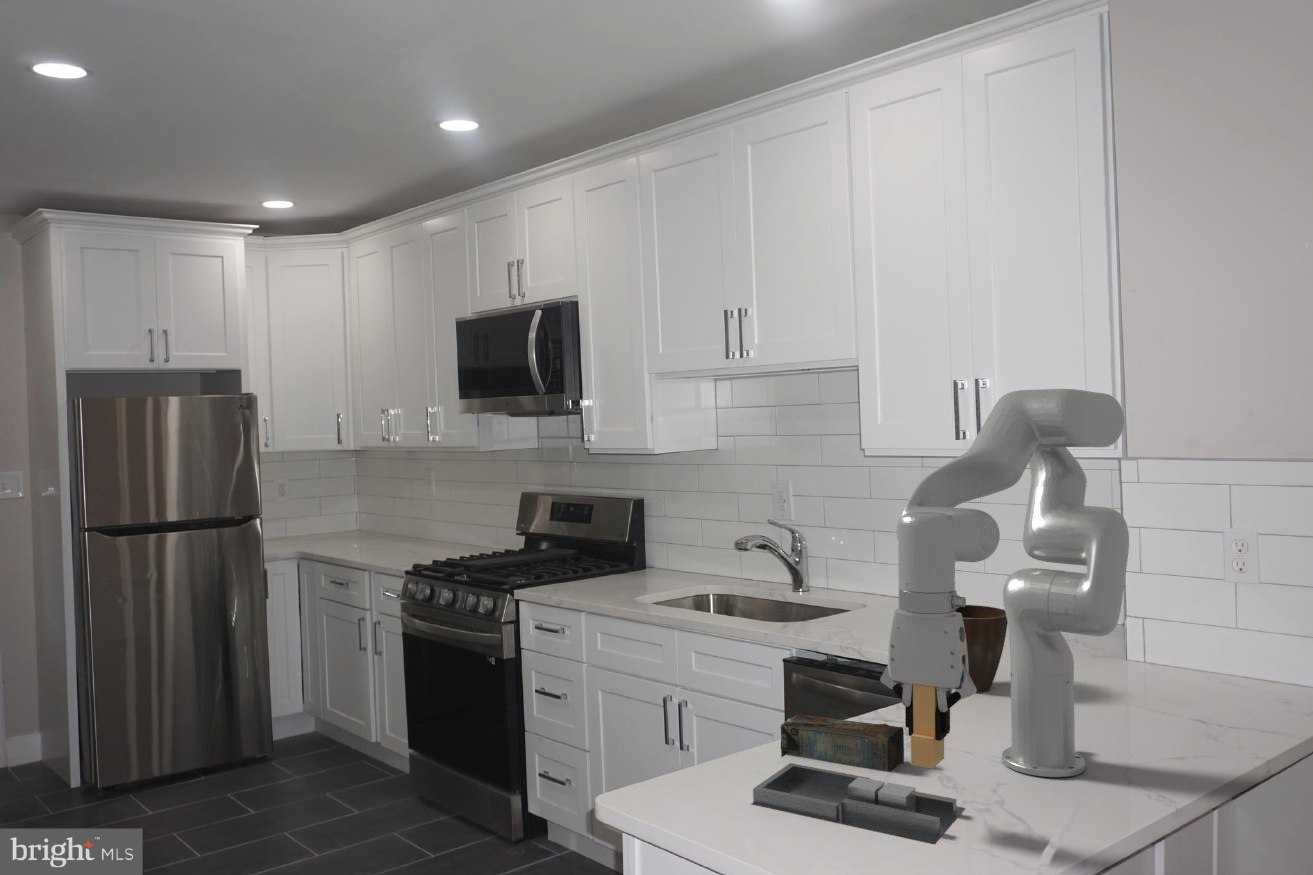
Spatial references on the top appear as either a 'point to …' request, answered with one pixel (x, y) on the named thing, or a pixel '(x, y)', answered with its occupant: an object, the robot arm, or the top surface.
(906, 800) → the grey cube
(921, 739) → the tan stepped beam
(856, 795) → the chip
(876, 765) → the beverage carton
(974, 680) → the plant pot
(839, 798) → the slot board
